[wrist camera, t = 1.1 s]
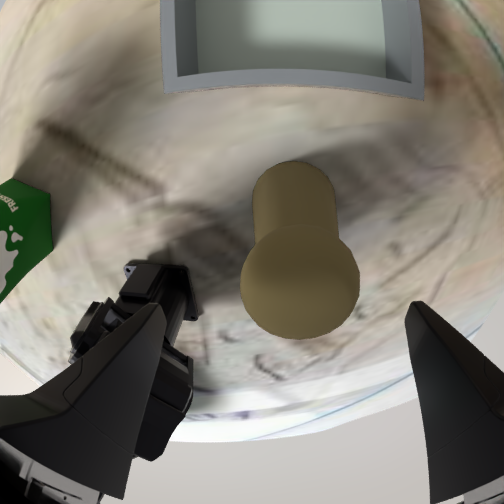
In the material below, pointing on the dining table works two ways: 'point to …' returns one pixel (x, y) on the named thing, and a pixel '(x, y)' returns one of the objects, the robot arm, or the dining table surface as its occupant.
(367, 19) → the box
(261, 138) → the dining table surface
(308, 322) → the cork
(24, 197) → the milk carton
